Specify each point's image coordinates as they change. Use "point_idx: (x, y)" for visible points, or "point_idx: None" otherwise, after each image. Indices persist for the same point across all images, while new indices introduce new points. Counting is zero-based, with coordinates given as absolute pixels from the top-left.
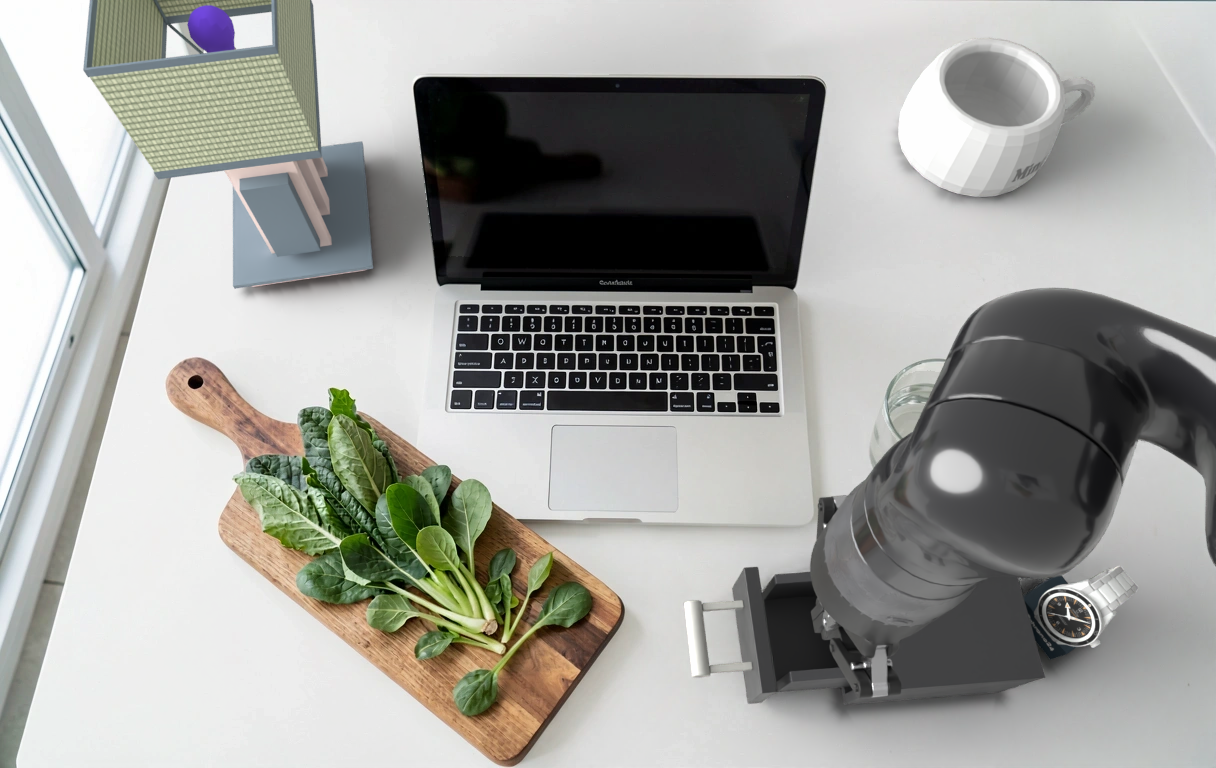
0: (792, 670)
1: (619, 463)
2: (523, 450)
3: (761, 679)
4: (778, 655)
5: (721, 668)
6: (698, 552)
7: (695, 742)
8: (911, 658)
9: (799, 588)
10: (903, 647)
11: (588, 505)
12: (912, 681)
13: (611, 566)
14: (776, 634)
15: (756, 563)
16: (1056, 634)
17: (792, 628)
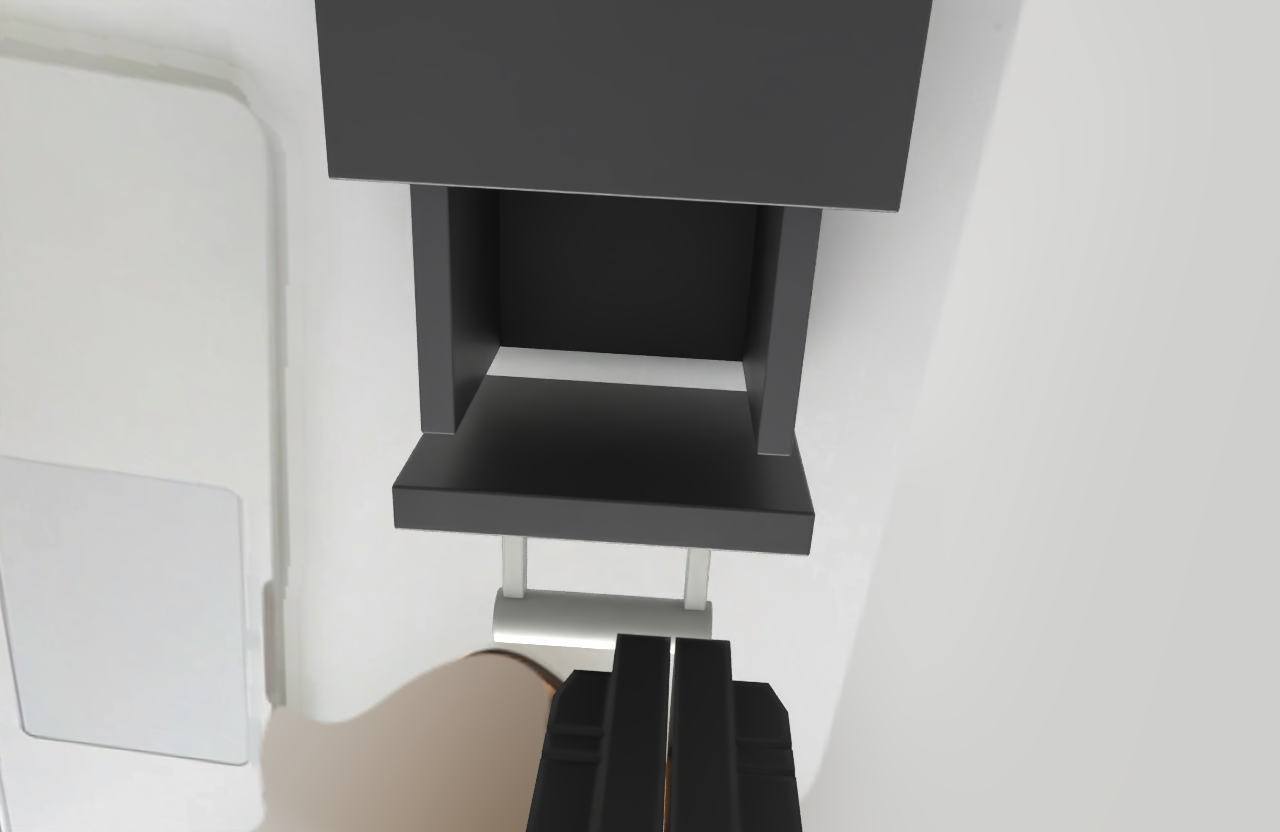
0: (718, 309)
1: (111, 607)
2: (100, 796)
3: (766, 549)
4: (669, 340)
5: (698, 582)
6: (355, 459)
7: (842, 549)
8: (807, 10)
9: (474, 303)
10: (755, 33)
11: (233, 687)
12: (899, 32)
13: (390, 661)
14: (607, 332)
15: (389, 310)
16: None
17: (594, 282)
